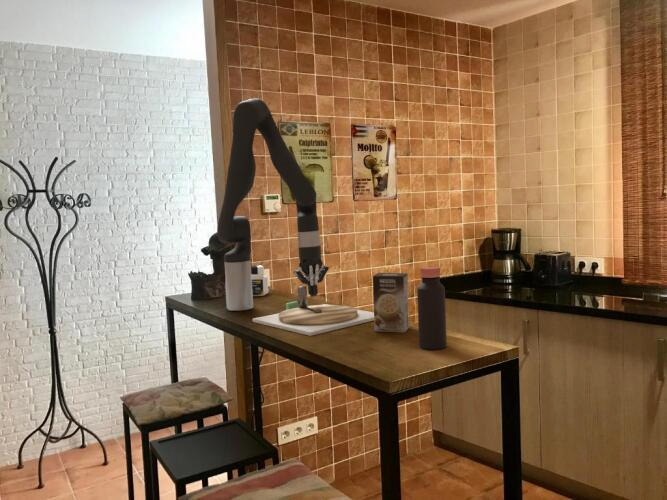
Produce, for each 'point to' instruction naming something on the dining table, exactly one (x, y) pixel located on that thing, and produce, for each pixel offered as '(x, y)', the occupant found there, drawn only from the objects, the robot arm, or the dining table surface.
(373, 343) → the dining table surface
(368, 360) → the dining table surface
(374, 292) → the coffee box
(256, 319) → the gauge plate
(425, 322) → the dark grey water bottle
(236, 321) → the dining table surface
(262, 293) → the medicine bottle
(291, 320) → the tan round piece
